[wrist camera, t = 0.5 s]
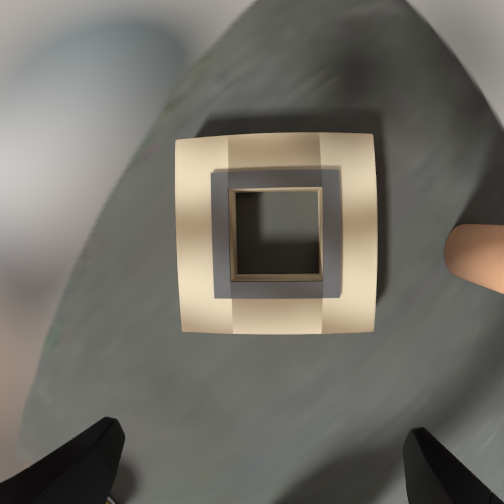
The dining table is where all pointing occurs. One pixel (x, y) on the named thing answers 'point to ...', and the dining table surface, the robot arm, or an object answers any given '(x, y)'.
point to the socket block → (225, 239)
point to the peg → (477, 254)
